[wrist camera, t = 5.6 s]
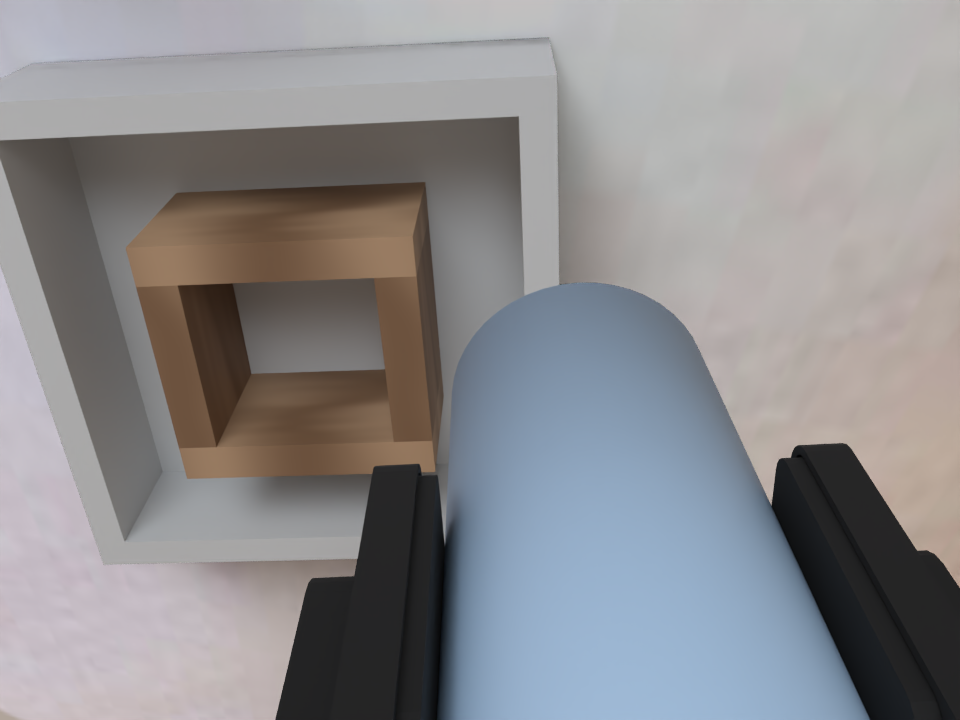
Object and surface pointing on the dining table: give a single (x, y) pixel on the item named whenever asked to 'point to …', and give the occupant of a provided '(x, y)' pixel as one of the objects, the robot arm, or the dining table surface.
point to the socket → (296, 395)
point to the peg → (615, 533)
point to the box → (262, 305)
